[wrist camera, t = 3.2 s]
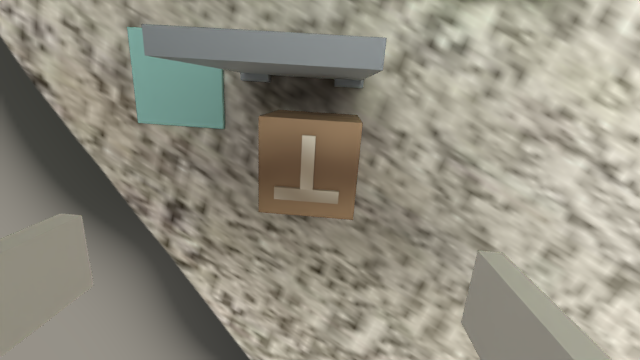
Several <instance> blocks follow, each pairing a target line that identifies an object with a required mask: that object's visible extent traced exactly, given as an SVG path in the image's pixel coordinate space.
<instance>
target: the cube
mask: <svg viewBox="0 0 640 360" xmlns="http://www.w3.org/2000/svg"><path fill="white" fill-rule="evenodd" d="M362 124H363V123H362V122H361V120H360V119H359V117H358V115H349V114H334V113H318V112H303V111H288V110H277V111H274V112H271V113H267V114H264V115H261V116H259V212H265V213H277V214H289V215H301V216H313V217H325V218H337V219H349V220H353V214H354V204H355V194H356V184H357V174H358V164H359V154H360V144H361V134H362Z"/></svg>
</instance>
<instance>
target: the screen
mask: <svg viewBox="0 0 640 360" xmlns="http://www.w3.org/2000/svg"><path fill="white" fill-rule="evenodd" d="M142 34H143V44H144V54H145V56H151V57H156V58H162V59H167V60H173V61H179V62H184V63H190V64H195V65H201V66H207V67H212V68H218V69H223V70H229V71H235V72H240V75H241V80H243V81H258V82H271V75H278V76H294V77H310V78H325V79H335V84H334V86H336V87H351V88H363V83H364V79H365V78H367V77H369V76H372V75H374V74H376V73H378V72H380V71H382V70H383V65H384V56H385V47H386V39H387V38H381V37H363V36H345V35H328V34H310V33H292V32H275V31H257V30H239V29H221V28H204V27H186V26H168V25H151V24H142Z"/></svg>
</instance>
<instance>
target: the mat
mask: <svg viewBox="0 0 640 360" xmlns="http://www.w3.org/2000/svg"><path fill="white" fill-rule="evenodd" d="M127 30H128V39H129V48H130V57H131V65H132V74H133V83H134V91H135V100H136V109H137V118H138V123H148V124H162V125H176V126H190V127H204V128H218V129H224V128H225V115H224V83H223V69H218V68H212V67H207V66H201V65H195V64H190V63H184V62H179V61H173V60H167V59H162V58H156V57H151V56H145V54H144V44H143V34H142V28H138V27H127Z"/></svg>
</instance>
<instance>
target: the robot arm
mask: <svg viewBox="0 0 640 360" xmlns="http://www.w3.org/2000/svg"><path fill="white" fill-rule="evenodd" d="M92 286H94V284H93V278H92V272H91V266H90V260H89V254H88V250H87V243H86V237H85V232H84V226H83V220H82V216H81V215H72V214H58V215H55V216H53V217H51V218H48V219H46V220H44V221H41V222H39V223H37V224H34V225H32V226H29V227H27V228H25V229H22V230H20V231H18V232H15V233H13V234H10V235H8V236H6V237H3V238H1V239H0V358H1V357H2V356H3V355H4V354H6V353H7V352H8V351H10V350H11V349H12V348H13V347H15V346H16V345H17V344H19V343H20V342H21V341H22V340H24V339H25V338H26V337H28V336H29V335H30V334H32V333H33V332H34V331H35V330H37V329H38V328H39V327H41V326H42V325H43V324H45V323H46V322H47V321H48V320H50V319H51V318H52V317H53V316H55V315H56V314H57V313H59V312H60V311H61V310H63V309H64V308H65V307H66V306H68V305H69V304H70V303H72V302H73V301H74V300H75V299H77V298H78V297H79V296H81V295H82V294H83V293H85V292H86V291H87V290H89V289H90V288H91V287H92ZM461 323H462V325H463V327H464V329H465V331H466V333H467V335H468V336H469V338H470V340H471V342H472V344H473V346H474V348H475V350H476V352H477V353H478V355H479V357H480V359H481V360H612V359H611V358H610V357H609V356H608V355H607V354H606V353H605V352H604V351H603V350H602V349H601V348H600V347H599V346H598V345H597V344H596V343H595V342H594V341H593V340H592V339H590V338H589V337H588V336H587V335H586V334H585V333H584V332H583V331H582V330H581V329H580V328H579V327H578V326H577V325H576V324H575V323H574V322H573V321H572V320H571V319H570V318H569V317H568V316H567V315H566V314H565V313H564V312H563V311H562V310H561V309H560V308H559V307H558V306H557V305H556V304H555V303H554V302H553V301H552V300H551V299H550V298H549V297H548V296H546V295H545V294H544V293H543V292H542V291H541V290H540V289H539V288H538V287H537V286H536V285H535V284H534V283H533V282H532V281H531V280H530V279H529V278H528V277H527V276H526V275H525V274H524V273H523V272H522V271H521V270H520V269H519V268H518V267H517V266H516V265H515V264H514V263H513V262H512V261H511V260H510V259H509V258H508V257H507V256H506V255H505V254H504V253H500V252H489V251H478V252H477V257H476V261H475V265H474V269H473V274H472V278H471V282H470V286H469V291H468V295H467V299H466V303H465V307H464V312H463V316H462V320H461Z"/></svg>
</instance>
